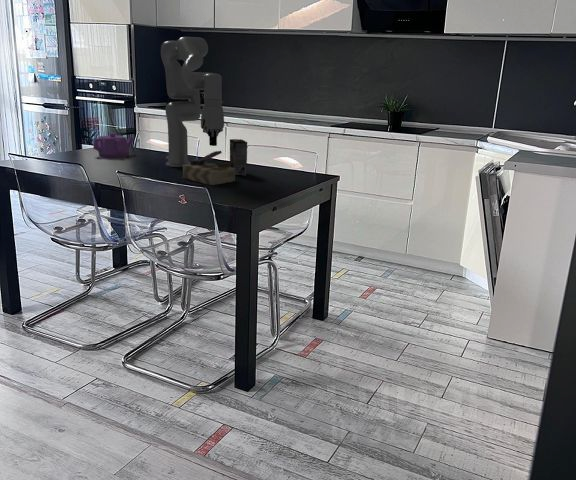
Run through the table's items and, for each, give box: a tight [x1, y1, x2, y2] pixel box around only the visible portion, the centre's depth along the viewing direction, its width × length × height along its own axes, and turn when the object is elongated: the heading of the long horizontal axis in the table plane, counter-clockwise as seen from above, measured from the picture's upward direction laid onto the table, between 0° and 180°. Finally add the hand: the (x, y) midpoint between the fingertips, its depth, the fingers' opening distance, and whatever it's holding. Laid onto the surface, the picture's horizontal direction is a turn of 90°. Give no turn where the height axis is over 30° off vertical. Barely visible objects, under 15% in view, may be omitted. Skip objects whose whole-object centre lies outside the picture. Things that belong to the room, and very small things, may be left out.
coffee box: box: [229, 138, 248, 176], centre depth 268 cm, size 9×6×16 cm
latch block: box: [182, 160, 236, 186], centre depth 253 cm, size 20×14×8 cm
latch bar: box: [195, 150, 223, 164], centre depth 252 cm, size 16×4×1 cm, turn 48°
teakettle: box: [93, 132, 134, 159], centre depth 304 cm, size 17×17×12 cm
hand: (213, 145), depth 248 cm, fingers closed
